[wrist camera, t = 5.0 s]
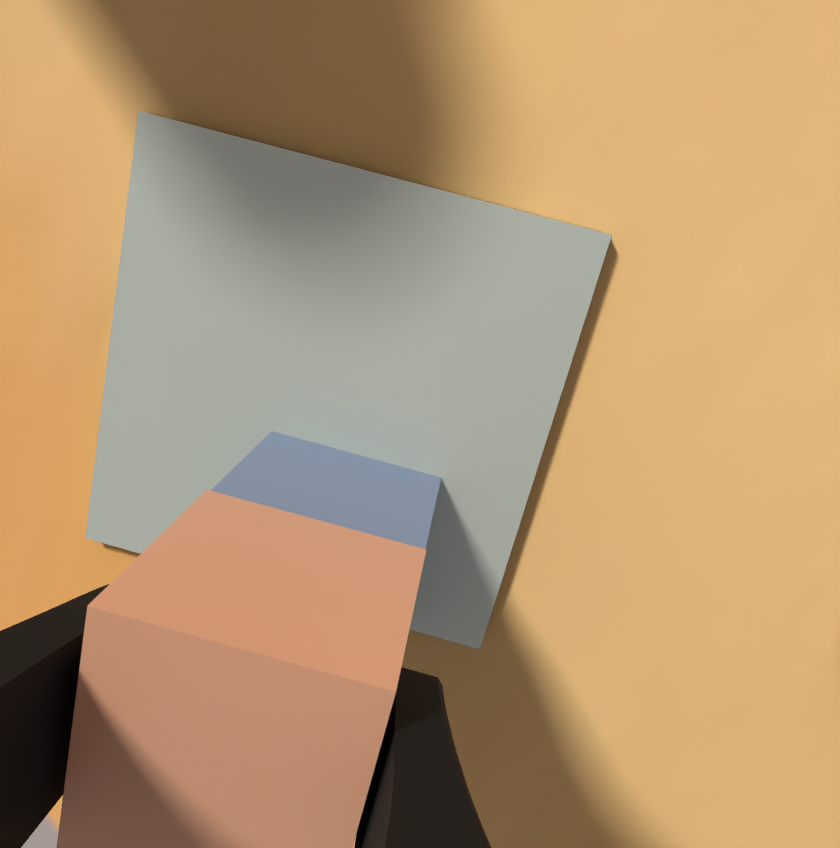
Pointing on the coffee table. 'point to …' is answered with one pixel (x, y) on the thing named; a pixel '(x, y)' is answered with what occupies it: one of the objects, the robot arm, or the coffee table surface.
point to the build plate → (335, 343)
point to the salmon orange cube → (238, 683)
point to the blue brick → (336, 488)
